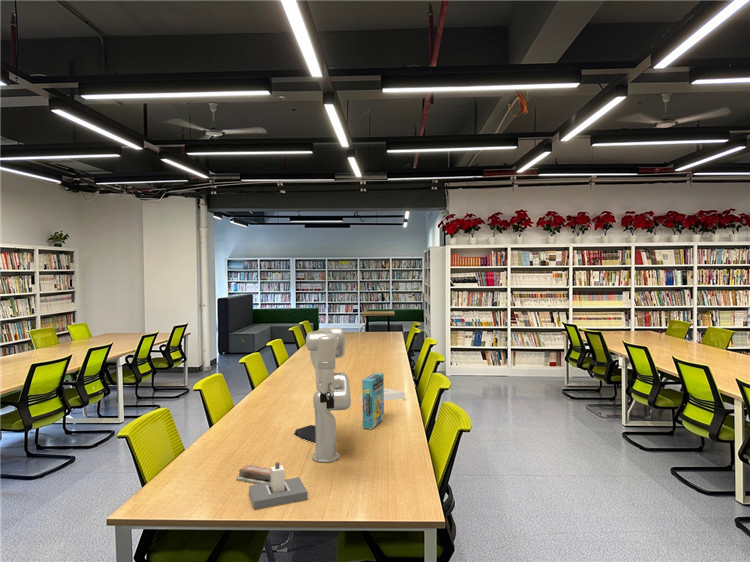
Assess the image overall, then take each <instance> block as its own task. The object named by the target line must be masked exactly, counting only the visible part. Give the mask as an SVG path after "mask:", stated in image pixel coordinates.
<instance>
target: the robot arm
mask: <svg viewBox="0 0 750 562" xmlns="http://www.w3.org/2000/svg"><path fill="white" fill-rule="evenodd" d="M305 345H306V346H305V347H306V349H307V350H308V351H309V357H310V361H311V364H312V366H313V368H314V370H315V386H316V387H315V388H316V390H317V391H316V392H315V393H314V394H313V395H312V396H313V397H312V402H313V408H314V417H315V418H314V420H315V421H314V426H315V437H316V444H315V451H314V453H313V454H312V460H313V459H314V460H313V461H315V462H317V461H318V463H331V462H332V463H333V462H335V461H338V459H340V453H339V452H338V451H337V423H336V422H337V421H336V417H335V416H334V414H333V413H332V412H333V411H345V410H348V409H350V407H351V405H352V397H351V388H350V380H349V377H348V375H347V373H345V372H335V369H336V359H341V358H343V357H344V355H345V348H346V333H345V330H344V329H343V328H342V327H339V326H338V327H337V326H335V327H321V328H319V329H318V330H314V331H310V332H308V333H307V334H306V337H305Z"/></svg>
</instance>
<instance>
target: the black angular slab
mask: <svg viewBox="0 0 750 562" xmlns="http://www.w3.org/2000/svg"><path fill="white" fill-rule="evenodd" d="M294 435H296V436H298V437H300V438H302V439H301V440H303V439H305V440H308V441H311V442H314V443H316V437H315V424H314V425H312V424H310V425H307V426H306V425H305V426H302V427H300V428H297V429H295V431H294V432H293V436H294ZM296 436H295V437H296ZM298 437H297V438H298ZM300 438H299V439H300ZM305 440H304V441H305ZM308 441H307V442H308ZM311 442H310V443H311ZM314 443H313V444H314Z"/></svg>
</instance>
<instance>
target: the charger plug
mask: <svg viewBox="0 0 750 562" xmlns="http://www.w3.org/2000/svg"><path fill="white" fill-rule="evenodd" d="M270 469H271V493H277V492H282V491H285V480H286V479H285V478H284V476H285V468H284V466H283V465H280V462H279V461H277V462H275V464H274V466H270Z"/></svg>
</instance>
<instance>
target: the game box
mask: <svg viewBox="0 0 750 562" xmlns="http://www.w3.org/2000/svg"><path fill="white" fill-rule="evenodd" d="M384 378H385V376H384V372H383V373H382V372H373V373H372V374H370V375H369V376H367V377H365V378H364V379H362V381H361V382H362V383H361V384H362V385H361V386H362V394H361V395H362V399H363V405H362V428H363V427H364V428H374V427H375V426H376V425H377V424H378V423H379V422H380V421H381V420H382V419H383V418H384V419H385V403H384V388H385V386H384ZM384 419H383V420H384ZM383 420H382V421H383ZM382 421H381V422H382ZM381 422H380V423H381ZM380 423H379V424H380ZM379 424H378V425H379ZM378 425H377V426H378ZM377 426H376V427H377ZM376 427H375V428H376ZM375 428H374V429H375Z"/></svg>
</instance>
